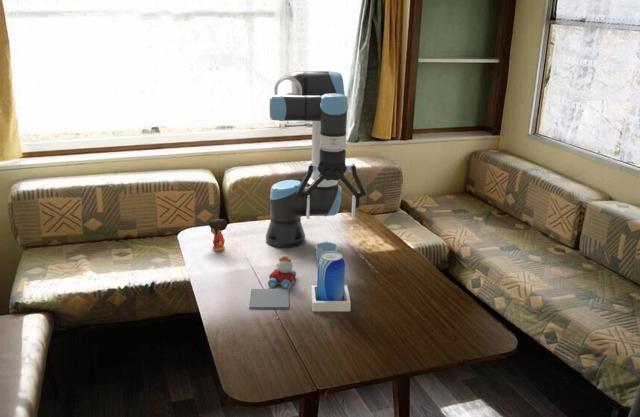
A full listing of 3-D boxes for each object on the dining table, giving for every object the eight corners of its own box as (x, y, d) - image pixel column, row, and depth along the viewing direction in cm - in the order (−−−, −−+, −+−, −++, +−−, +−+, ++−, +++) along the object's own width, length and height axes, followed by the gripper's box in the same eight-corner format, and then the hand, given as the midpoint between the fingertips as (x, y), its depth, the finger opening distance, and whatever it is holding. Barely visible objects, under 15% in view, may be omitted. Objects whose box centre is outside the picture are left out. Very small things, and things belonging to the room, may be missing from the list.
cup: (341, 277, 211) (342, 249, 207) (320, 280, 208) (321, 252, 205) (331, 268, 218) (332, 240, 214) (311, 271, 215) (312, 244, 211)
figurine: (219, 244, 235) (218, 214, 231) (229, 247, 232) (228, 217, 228) (207, 249, 230) (205, 219, 226) (217, 253, 227) (216, 222, 223)
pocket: (311, 293, 199) (311, 285, 198) (346, 293, 200) (347, 285, 199) (312, 311, 188) (312, 302, 187) (350, 311, 189) (350, 302, 188)
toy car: (273, 275, 211) (273, 248, 208) (298, 278, 210) (298, 251, 206) (265, 287, 203) (265, 259, 200) (291, 290, 201) (292, 262, 198)
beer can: (330, 293, 200) (331, 247, 194) (349, 302, 194) (351, 256, 189) (311, 301, 194) (312, 255, 189) (330, 311, 188) (331, 263, 183)
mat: (251, 290, 200) (251, 288, 200) (288, 290, 201) (288, 288, 201) (249, 308, 189) (249, 307, 189) (288, 308, 190) (288, 306, 189)
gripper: (289, 151, 174) (288, 221, 181) (377, 152, 175) (373, 222, 182) (289, 144, 181) (288, 213, 188) (374, 145, 182) (370, 213, 190)
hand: (330, 217), depth 185 cm, fingers open, 13 cm apart
